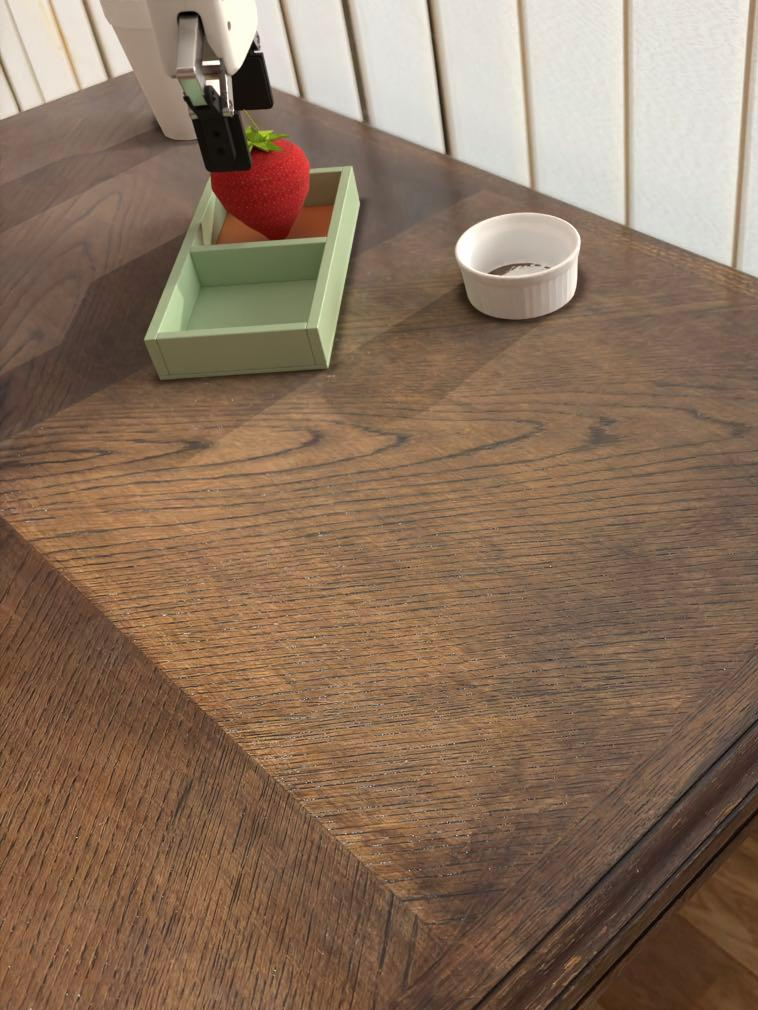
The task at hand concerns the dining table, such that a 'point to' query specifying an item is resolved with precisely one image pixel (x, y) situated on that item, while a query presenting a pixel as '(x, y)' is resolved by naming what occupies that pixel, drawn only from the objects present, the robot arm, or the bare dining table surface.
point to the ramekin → (520, 287)
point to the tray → (257, 288)
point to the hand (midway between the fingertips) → (242, 137)
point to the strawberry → (266, 184)
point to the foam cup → (151, 66)
